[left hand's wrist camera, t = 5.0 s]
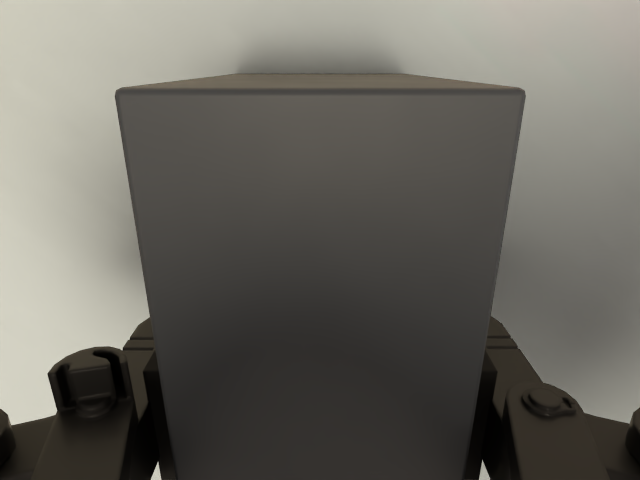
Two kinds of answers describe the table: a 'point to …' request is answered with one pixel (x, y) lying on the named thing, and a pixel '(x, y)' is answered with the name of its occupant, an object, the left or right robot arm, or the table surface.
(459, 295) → the post
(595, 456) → the left robot arm
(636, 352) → the table surface
